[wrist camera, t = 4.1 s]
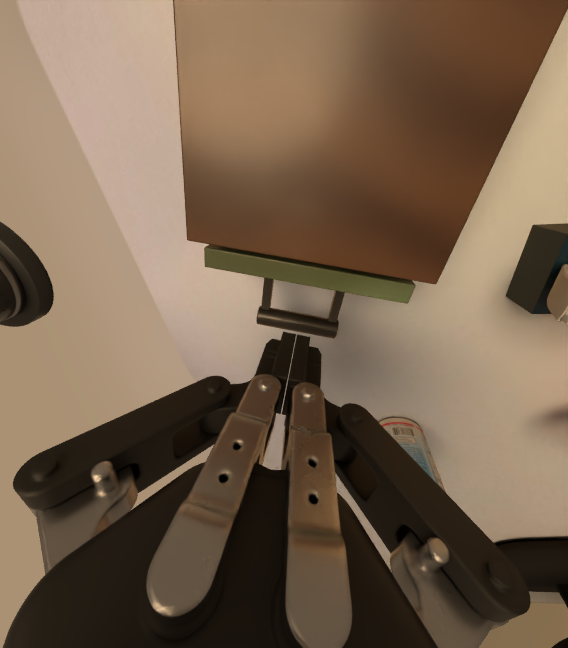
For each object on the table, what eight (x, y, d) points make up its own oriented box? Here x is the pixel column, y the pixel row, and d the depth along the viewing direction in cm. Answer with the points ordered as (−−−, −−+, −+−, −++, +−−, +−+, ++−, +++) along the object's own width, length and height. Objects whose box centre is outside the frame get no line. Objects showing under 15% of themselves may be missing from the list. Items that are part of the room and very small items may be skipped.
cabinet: (399, 246, 20) (436, 285, 14) (232, 217, 21) (186, 240, 14) (519, -81, 12) (763, -397, 5) (241, -111, 13) (146, -427, 6)
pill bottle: (358, 437, 32) (372, 548, 23) (388, 408, 29) (418, 523, 20) (400, 454, 33) (430, 570, 23) (433, 428, 30) (484, 549, 20)
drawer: (368, 319, 23) (381, 364, 18) (233, 294, 24) (206, 330, 18) (484, -5, 13) (595, -127, 8) (245, -34, 14) (193, -167, 8)
